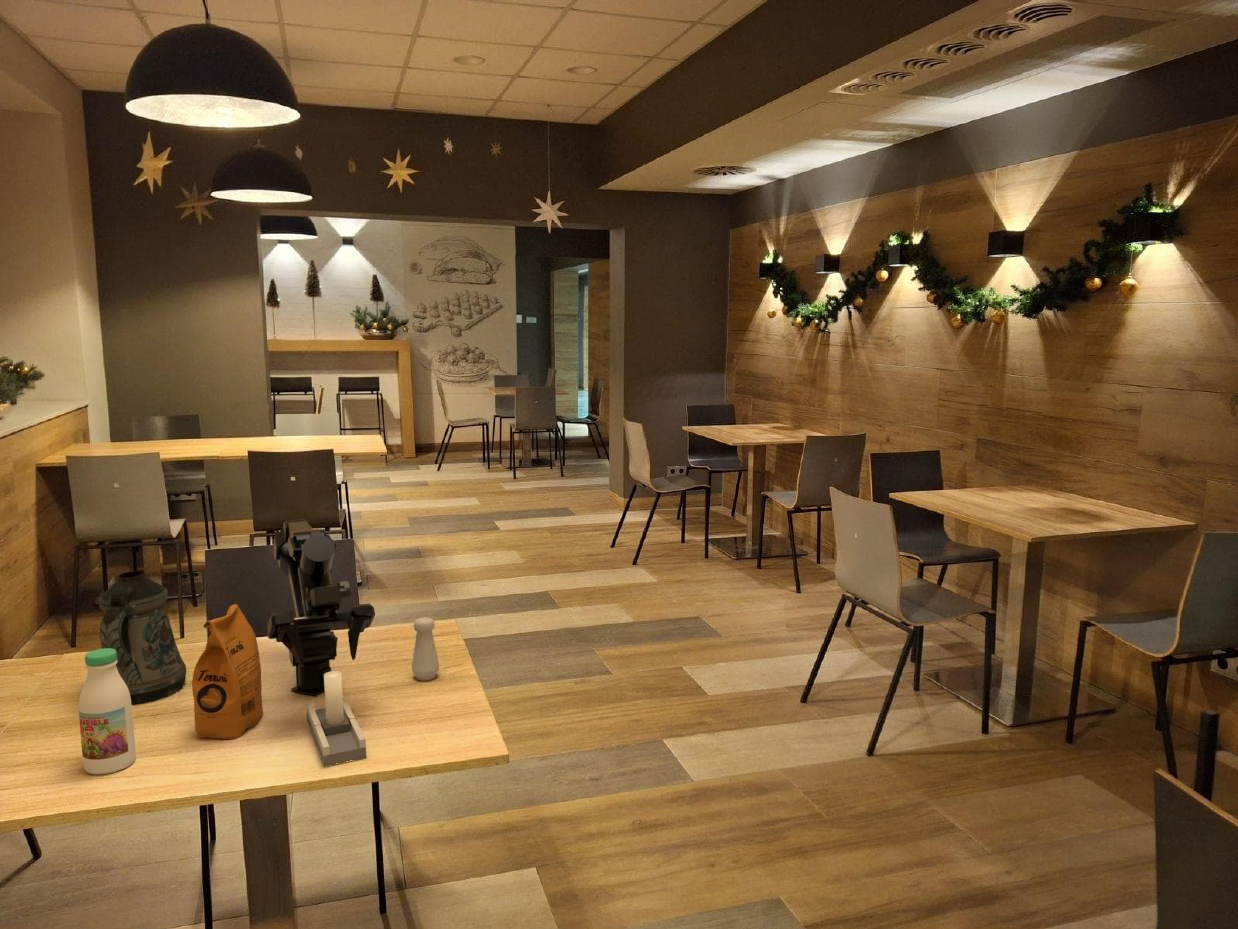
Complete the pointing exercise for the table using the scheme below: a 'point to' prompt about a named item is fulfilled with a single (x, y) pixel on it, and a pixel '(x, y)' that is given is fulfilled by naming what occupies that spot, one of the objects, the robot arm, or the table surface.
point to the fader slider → (334, 705)
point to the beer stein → (141, 637)
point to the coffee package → (228, 679)
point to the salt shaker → (424, 650)
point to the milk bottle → (105, 716)
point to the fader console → (336, 737)
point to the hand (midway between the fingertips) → (328, 662)
